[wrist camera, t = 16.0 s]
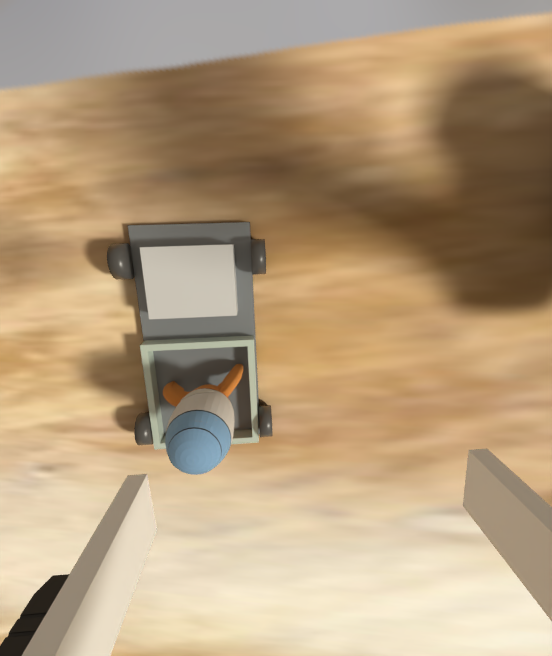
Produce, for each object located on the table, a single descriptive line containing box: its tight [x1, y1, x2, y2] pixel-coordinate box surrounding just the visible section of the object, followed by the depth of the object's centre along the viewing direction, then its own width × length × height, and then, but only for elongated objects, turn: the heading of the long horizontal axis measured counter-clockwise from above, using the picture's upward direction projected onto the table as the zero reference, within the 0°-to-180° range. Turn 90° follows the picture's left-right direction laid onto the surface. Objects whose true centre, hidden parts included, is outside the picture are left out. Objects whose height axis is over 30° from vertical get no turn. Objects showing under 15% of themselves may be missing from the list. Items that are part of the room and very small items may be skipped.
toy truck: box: [107, 222, 272, 449], centre depth 40 cm, size 17×28×4 cm, turn 2°
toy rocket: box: [163, 364, 243, 475], centre depth 37 cm, size 10×11×15 cm
